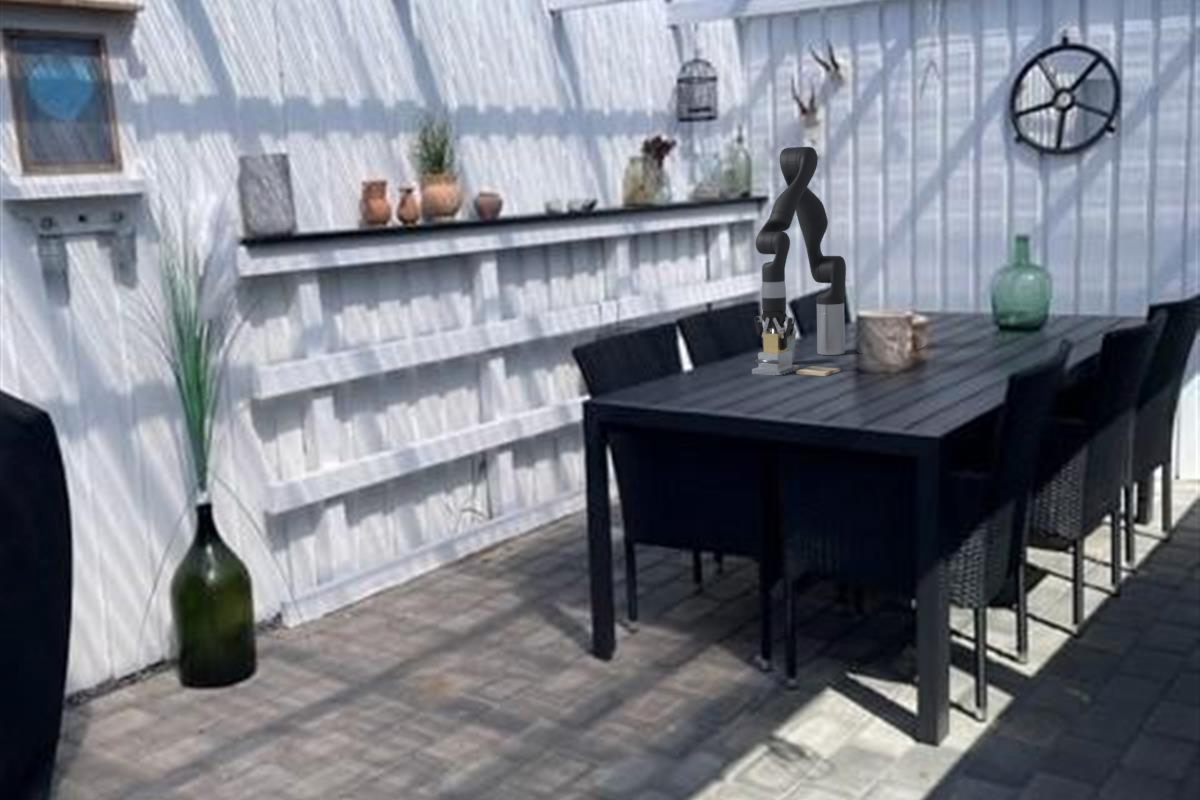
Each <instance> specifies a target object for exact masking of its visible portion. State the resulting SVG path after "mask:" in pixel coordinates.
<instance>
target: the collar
mask: <svg viewBox="0 0 1200 800" xmlns="http://www.w3.org/2000/svg"><path fill="white" fill-rule="evenodd" d="M780 339H781V337H780V334H779V332H778V334H773V333H771V331H770V332H767V333H763V337H762V345H763V344H764V347H763V352H767V353H781V352H784V351H786V349H785V350H781V349H780Z"/></svg>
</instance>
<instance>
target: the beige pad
mask: <svg viewBox="0 0 1200 800" xmlns="http://www.w3.org/2000/svg"><path fill="white" fill-rule="evenodd" d="M838 372H841V367H830V366H817V365H816V366H815V365H814V366H813V365H812V366H807V367H805V368H800V369H799V370H797V371H795V373H796V375H805V376H817V377H818V376H819V377H820V376H821V377H826V376H829V375H833V374H836V373H838Z"/></svg>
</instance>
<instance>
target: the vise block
mask: <svg viewBox="0 0 1200 800" xmlns="http://www.w3.org/2000/svg"><path fill="white" fill-rule="evenodd" d="M770 332H771V333H773V334H778V331H777V328H771V331H770ZM754 363H757V365H758V367H754V368H751V374H752V375H761V376H762V375H763V376H775V375H781V376H783V375H782V374H784V375H787V374H786V373H788V374H790V373H789V372H791V373H793V372H792V371H794V372H796V370H800V368H799V367H800V366H799V364H798V365H797V364H796V365H795V364H792V350H786V351H784V352H781V353H767V352H764V351H760V352H757V359H755V360H754Z"/></svg>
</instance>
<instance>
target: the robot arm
mask: <svg viewBox="0 0 1200 800" xmlns="http://www.w3.org/2000/svg"><path fill="white" fill-rule="evenodd" d="M818 161H819V160H818V153H817V151H816V149H815V148H814V147H812V146H796V147H795V146H792V147H786V148H783V149H782V150H781V152H780V154H779V165H780V170H781V173H782V176H783V178H784V181H785V183H786V185H787V186H786V187H787V188H785V189H784V190H783V192H781V193H780V195H779V196H778V197H777V198H776V200H775V202H774V203H773V206H772V209H771V211H770V215H769V217H768V219H767V220H766V222H765V223H764V225H763V227H761V229H760V230H759V232H758V233H757V236H756V238H755V239H756V240H755V248H756V251H757V253H759V254H761V255H775V257H774V259H773V260H772V261H768V262H765V263H763V264H762V266H761V267H762V268H761V275H762V276H761V279H762V280H761V282H762V284H761V310H762V314H761V315H756V316H754V317H753V321H754V325H755V326H754V327H755V331H756V335H757V336H761V338H763V333H767V332H771V328H777V331H778V332H779V334H780V337H781V339H780V349H781V350H785V349H786V348H787V337H789V336H792V335H793V329H794V327H795V323H796V318H795V317H793V316H792V317H790V316H788V315H787V312H786V311H787V288H786V281H785V280H786V272H785V271H786V269H785V268H786V264H787V258H788V255H789V251H790V246H791V240H790V239H791V238H790V237H789V235H788V233H786V232H785V231H787V230H789V229H790V228H791V225H792V222H793V219H794V216H795V213H796V216H797V218H796V219H797V220H798V225H799V227H800V230H801V234H802V237H803V240H804V245H805V248H806V253H807V258H808V263H809V264H808V265H809V268H810V273H811V277H812V279H813V280H814V281H815V282H816V283H818V284H830V288H829V289H828V290H826V291H825V292H822V293H820V294H818V295H817V296H816V345H817V347H816V350H817V351H816V352H817V354H818V355H821V356H822V355H823V356H835V355H844V354H845V353H846V325H845V296H846V278H847V266H846V260H845V259H844V256H842V255H823V253H822V249H821V243H822V241H823V238H824V236H825V234H826V231H827V229H828V225H829V221H828V216H827V212H826V208H825V206H824V204H823V202H822V201H821V199H820V198H819V197H818V196H817V195H816V194H815V193H814V192H813V191H812V190H810V188H809V187H808V186H809V184H810V182H811V181H812V178H813V177H814V175H815V172H816V170H817V167H818ZM763 322H764V324H763ZM785 322H786V324H785ZM785 326H787V328H786V327H785ZM762 347H763V348H764V344H763V343H762Z"/></svg>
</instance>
